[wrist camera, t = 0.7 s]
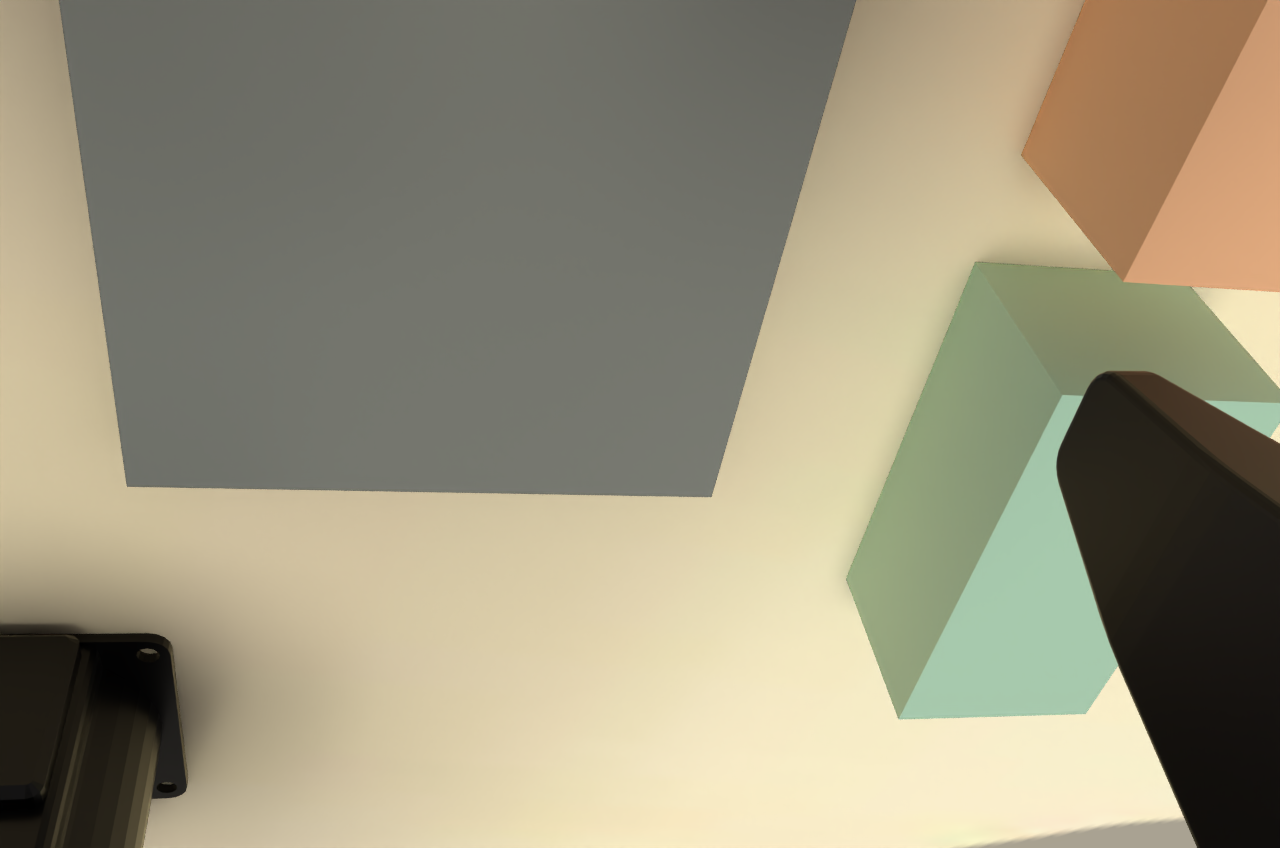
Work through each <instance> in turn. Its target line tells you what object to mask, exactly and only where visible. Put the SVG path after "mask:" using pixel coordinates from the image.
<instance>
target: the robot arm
mask: <svg viewBox="0 0 1280 848" xmlns="http://www.w3.org/2000/svg"><path fill="white" fill-rule="evenodd" d="M1056 471H1057V479H1058V483H1059V487H1060V490H1061V493H1062V496H1063V499H1064V503H1065V506H1066V509H1067V512H1068V515H1069V519H1070V522H1071V525H1072V528H1073V531H1074V535H1075V538H1076V541H1077V544H1078V547H1079V551H1080V554H1081V557H1082V560H1083V564H1084V567H1085V570H1086V573H1087V576H1088V580H1089V583H1090V586H1091V589H1092V592H1093V596H1094V599H1095V602H1096V605H1097V608H1098V612H1099V615H1100V618H1101V621H1102V624H1103V627H1104V629H1105V632H1106V635H1107V638H1108V641H1109V644H1110V646H1111V649H1112V651H1113V654H1114V656H1115V659H1116V661H1117V664H1118V666H1119V669H1120V671H1121V673H1122V676H1123V678H1124V680H1125V683H1126V685H1127V687H1128V689H1129V692H1130V694H1131V696H1132V699H1133V701H1134V703H1135V706H1136V708H1137V710H1138V712H1139V715H1140V717H1141V719H1142V722H1143V724H1144V726H1145V729H1146V731H1147V733H1148V735H1149V738H1150V740H1151V742H1152V745H1153V747H1154V749H1155V752H1156V754H1157V756H1158V758H1159V761H1160V763H1161V765H1162V768H1163V770H1164V772H1165V775H1166V777H1167V779H1168V781H1169V784H1170V786H1171V788H1172V791H1173V793H1174V795H1175V798H1176V800H1177V802H1178V805H1179V807H1180V809H1181V811H1182V814H1183V816H1184V818H1185V821H1186V823H1187V825H1188V827H1189V830H1190V832H1191V834H1192V837H1193V839H1194V841H1195V844H1196V846H1197V848H1280V443H1278V442H1276V441H1274V440H1273V439H1271V438H1269V437H1267V436H1266V435H1264V434H1262V433H1260V432H1259V431H1257V430H1255V429H1253V428H1251V427H1250V426H1248V425H1246V424H1244V423H1243V422H1241V421H1239V420H1237V419H1236V418H1234V417H1232V416H1230V415H1229V414H1227V413H1225V412H1223V411H1221V410H1220V409H1218V408H1216V407H1214V406H1213V405H1211V404H1209V403H1207V402H1206V401H1204V400H1202V399H1200V398H1199V397H1197V396H1195V395H1193V394H1191V393H1190V392H1188V391H1186V390H1184V389H1183V388H1181V387H1179V386H1177V385H1176V384H1174V383H1172V382H1170V381H1169V380H1167V379H1165V378H1163V377H1161V376H1160V375H1158V374H1155V373H1152V372H1148V371H1106V372H1103V373H1100V374H1099V375H1097V376H1096V377H1095V378H1094V379H1093V380H1092V381H1091V383H1090V384H1089V386H1088V388H1087V390H1086V392H1085V394H1084V396H1083V398H1082V400H1081V403H1080V405H1079V407H1078V409H1077V411H1076V413H1075V415H1074V417H1073V420H1072V422H1071V424H1070V426H1069V428H1068V430H1067V432H1066V434H1065V437H1064V439H1063V441H1062V443H1061V445H1060V448H1059V450H1058V455H1057V461H1056ZM146 648H148V649H154V650H156V651H157V653H154V654H147V653H144V652H142V651H140V650H141V649H146ZM163 782H171V783H174V784H171V785H166V784H162V783H163ZM187 783H188V774H187V765H186V757H185V749H184V740H183V732H182V724H181V716H180V707H179V699H178V691H177V682H176V674H175V666H174V657H173V649H172V645H171V643H170V641H168V640H167V639H166V638H165V637H162V636H160V635H157V634H149V633H130V634H9V635H0V848H143V845H144V839H145V833H146V827H147V821H148V816H149V810H150V804H151V799H157V798H172V797H177V796H179V795H182V794H183V793H184V792H185V791H186V788H187Z"/></svg>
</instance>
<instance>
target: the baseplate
mask: <svg viewBox="0 0 1280 848" xmlns="http://www.w3.org/2000/svg"><path fill="white" fill-rule="evenodd" d="M855 2H856V0H59V4H60V11H61V18H62V25H63V33H64V40H65V47H66V54H67V61H68V68H69V75H70V83H71V90H72V97H73V104H74V111H75V118H76V126H77V133H78V140H79V147H80V154H81V161H82V169H83V176H84V183H85V190H86V197H87V204H88V212H89V219H90V226H91V233H92V240H93V247H94V255H95V262H96V269H97V276H98V283H99V290H100V298H101V305H102V312H103V319H104V326H105V333H106V341H107V348H108V355H109V362H110V369H111V376H112V384H113V391H114V398H115V405H116V412H117V419H118V427H119V434H120V441H121V448H122V455H123V462H124V470H125V477H126V484H127V487H177V488H232V489H288V490H344V491H400V492H456V493H511V494H567V495H623V496H679V497H712V493H713V490H714V486H715V483H716V480H717V476H718V473H719V469H720V466H721V462H722V459H723V456H724V452H725V449H726V445H727V442H728V438H729V435H730V432H731V428H732V425H733V421H734V418H735V414H736V411H737V407H738V404H739V401H740V397H741V394H742V390H743V387H744V383H745V380H746V377H747V373H748V370H749V366H750V363H751V359H752V356H753V353H754V349H755V346H756V342H757V339H758V335H759V332H760V329H761V325H762V322H763V318H764V315H765V311H766V308H767V305H768V301H769V298H770V294H771V291H772V287H773V284H774V280H775V277H776V274H777V270H778V267H779V263H780V260H781V256H782V253H783V250H784V246H785V243H786V239H787V236H788V232H789V229H790V226H791V222H792V219H793V215H794V212H795V208H796V205H797V202H798V198H799V195H800V191H801V188H802V184H803V181H804V178H805V174H806V171H807V167H808V164H809V160H810V157H811V154H812V150H813V147H814V143H815V140H816V136H817V133H818V129H819V126H820V123H821V119H822V116H823V112H824V109H825V105H826V102H827V99H828V95H829V92H830V88H831V85H832V81H833V78H834V75H835V71H836V68H837V64H838V61H839V57H840V54H841V51H842V47H843V44H844V40H845V37H846V33H847V30H848V27H849V23H850V20H851V16H852V13H853V9H854V6H855Z"/></svg>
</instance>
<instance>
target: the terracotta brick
mask: <svg viewBox="0 0 1280 848" xmlns="http://www.w3.org/2000/svg"><path fill="white" fill-rule="evenodd" d="M1021 156H1022V157H1023V158H1024V159H1025V161H1026V162H1027V163H1028V164H1029V166H1030V167H1031V168H1032V169H1033V171H1034V172H1035V173H1036V174H1037V176H1038V177H1039V178H1040V179H1041V181H1042V182H1043V183H1044V184H1045V186H1046V187H1047V188H1048V189H1049V191H1050V192H1051V193H1052V194H1053V195H1054V197H1055V198H1056V199H1057V200H1058V202H1059V203H1060V204H1061V205H1062V207H1063V208H1064V209H1065V210H1066V212H1067V213H1068V214H1069V215H1070V217H1071V218H1072V219H1073V220H1074V222H1075V223H1076V224H1077V225H1078V227H1079V228H1080V229H1081V230H1082V231H1083V233H1084V234H1085V235H1086V236H1087V238H1088V239H1089V240H1090V241H1091V243H1092V244H1093V245H1094V246H1095V248H1096V249H1097V250H1098V251H1099V253H1100V254H1101V255H1102V256H1103V258H1104V259H1105V260H1106V261H1107V263H1108V264H1109V265H1110V266H1111V268H1112V269H1113V270H1114V271H1115V272H1116V274H1117V275H1118V276H1119V277H1120V279H1121V280H1122V281H1123V282H1130V283H1145V284H1161V285H1177V286H1192V287H1208V288H1224V289H1239V290H1255V291H1271V292H1280V0H1085V2H1084V5H1083V7H1082V9H1081V12H1080V14H1079V17H1078V19H1077V21H1076V24H1075V26H1074V29H1073V31H1072V34H1071V36H1070V38H1069V41H1068V43H1067V46H1066V48H1065V50H1064V53H1063V55H1062V58H1061V60H1060V63H1059V65H1058V67H1057V70H1056V72H1055V75H1054V77H1053V79H1052V82H1051V84H1050V87H1049V89H1048V92H1047V94H1046V96H1045V99H1044V101H1043V104H1042V106H1041V108H1040V111H1039V113H1038V116H1037V118H1036V121H1035V123H1034V125H1033V128H1032V130H1031V133H1030V135H1029V137H1028V140H1027V142H1026V145H1025V147H1024V149H1023V152H1022V154H1021Z"/></svg>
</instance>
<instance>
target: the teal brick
mask: <svg viewBox="0 0 1280 848" xmlns="http://www.w3.org/2000/svg"><path fill="white" fill-rule="evenodd" d="M1106 371H1148V372H1152V373H1155V374H1158V375H1160V376H1161V377H1163V378H1165V379H1167V380H1169V381H1170V382H1172V383H1174V384H1176V385H1177V386H1179V387H1181V388H1183V389H1184V390H1186V391H1188V392H1190V393H1191V394H1193V395H1195V396H1197V397H1199V398H1200V399H1202V400H1204V401H1206V402H1207V403H1209V404H1211V405H1213V406H1214V407H1216V408H1218V409H1220V410H1221V411H1223V412H1225V413H1227V414H1229V415H1230V416H1232V417H1234V418H1236V419H1237V420H1239V421H1241V422H1243V423H1244V424H1246V425H1248V426H1250V427H1251V428H1253V429H1255V430H1257V431H1259V432H1260V433H1262V434H1264V435H1266V436H1267V437H1269V438H1270V437H1271V435H1272V434H1273V432H1274V431H1275V429H1276V428H1277V426H1278V425H1279V423H1280V389H1279V388H1278V386H1277V385H1276V384H1275V383H1274V382H1273V381H1272V380H1271V378H1270V377H1269V376H1268V375H1267V374H1266V373H1265V371H1264V370H1263V369H1262V368H1261V367H1260V366H1259V365H1258V363H1257V362H1256V361H1255V360H1254V359H1253V358H1252V357H1251V355H1250V354H1249V353H1248V352H1247V351H1246V350H1245V349H1244V347H1243V346H1242V345H1241V344H1240V343H1239V342H1238V341H1237V339H1236V338H1235V337H1234V336H1233V335H1232V334H1231V333H1230V331H1229V330H1228V329H1227V328H1226V327H1225V326H1224V324H1223V323H1222V322H1221V321H1220V320H1219V319H1218V318H1217V316H1216V315H1215V314H1214V313H1213V312H1212V311H1211V310H1210V308H1209V307H1208V306H1207V305H1206V304H1205V303H1204V302H1203V300H1202V299H1201V298H1200V297H1199V296H1198V295H1197V294H1196V292H1195V291H1194V290H1193V289H1192V288H1191V287H1190V286H1177V285H1161V284H1145V283H1130V282H1123V281H1122V280H1121V279H1120V277H1119V276H1118V275H1117V274H1116V272H1115V271H1111V270H1095V269H1079V268H1063V267H1047V266H1031V265H1015V264H999V263H983V262H975V264H974V266H973V269H972V271H971V274H970V276H969V279H968V281H967V284H966V286H965V288H964V291H963V293H962V296H961V298H960V301H959V303H958V306H957V308H956V311H955V313H954V315H953V318H952V320H951V323H950V325H949V328H948V330H947V333H946V335H945V337H944V340H943V342H942V345H941V347H940V350H939V352H938V355H937V357H936V360H935V362H934V364H933V367H932V369H931V372H930V374H929V377H928V379H927V382H926V384H925V387H924V389H923V391H922V394H921V396H920V399H919V401H918V404H917V406H916V409H915V411H914V413H913V416H912V418H911V421H910V423H909V426H908V428H907V431H906V433H905V436H904V438H903V440H902V443H901V445H900V448H899V450H898V453H897V455H896V458H895V460H894V462H893V465H892V467H891V470H890V472H889V475H888V477H887V480H886V482H885V485H884V487H883V489H882V492H881V494H880V497H879V499H878V502H877V504H876V507H875V509H874V512H873V514H872V516H871V519H870V521H869V524H868V526H867V529H866V531H865V534H864V536H863V538H862V541H861V543H860V546H859V548H858V551H857V553H856V556H855V558H854V561H853V563H852V565H851V568H850V570H849V573H848V575H847V578H846V580H847V582H848V585H849V588H850V590H851V593H852V596H853V598H854V601H855V604H856V606H857V609H858V612H859V615H860V617H861V620H862V623H863V625H864V628H865V631H866V633H867V636H868V639H869V641H870V644H871V647H872V649H873V652H874V655H875V657H876V660H877V663H878V665H879V668H880V671H881V674H882V676H883V679H884V682H885V684H886V687H887V690H888V692H889V695H890V698H891V700H892V703H893V706H894V708H895V711H896V714H897V716H898V719H930V718H964V717H998V716H1032V715H1065V714H1086V713H1087V711H1088V710H1089V708H1090V707H1091V705H1092V704H1093V702H1094V701H1095V699H1096V698H1097V696H1098V695H1099V693H1100V692H1101V690H1102V689H1103V687H1104V686H1105V684H1106V683H1107V681H1108V680H1109V678H1110V677H1111V675H1112V674H1113V672H1114V671H1115V669H1116V668H1117V666H1118V664H1117V661H1116V659H1115V656H1114V654H1113V651H1112V649H1111V646H1110V644H1109V641H1108V638H1107V635H1106V632H1105V629H1104V627H1103V624H1102V621H1101V618H1100V615H1099V612H1098V608H1097V605H1096V602H1095V599H1094V596H1093V592H1092V589H1091V586H1090V583H1089V580H1088V576H1087V573H1086V570H1085V567H1084V564H1083V560H1082V557H1081V554H1080V551H1079V547H1078V544H1077V541H1076V538H1075V535H1074V531H1073V528H1072V525H1071V522H1070V519H1069V515H1068V512H1067V509H1066V506H1065V503H1064V499H1063V496H1062V493H1061V490H1060V487H1059V483H1058V479H1057V471H1056V461H1057V455H1058V450H1059V448H1060V445H1061V443H1062V441H1063V439H1064V437H1065V434H1066V432H1067V430H1068V428H1069V426H1070V424H1071V422H1072V420H1073V417H1074V415H1075V413H1076V411H1077V409H1078V407H1079V405H1080V403H1081V400H1082V398H1083V396H1084V394H1085V392H1086V390H1087V388H1088V386H1089V384H1090V383H1091V381H1092V380H1093V379H1094V378H1095V377H1096V376H1097V375H1099V374H1100V373H1103V372H1106Z"/></svg>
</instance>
